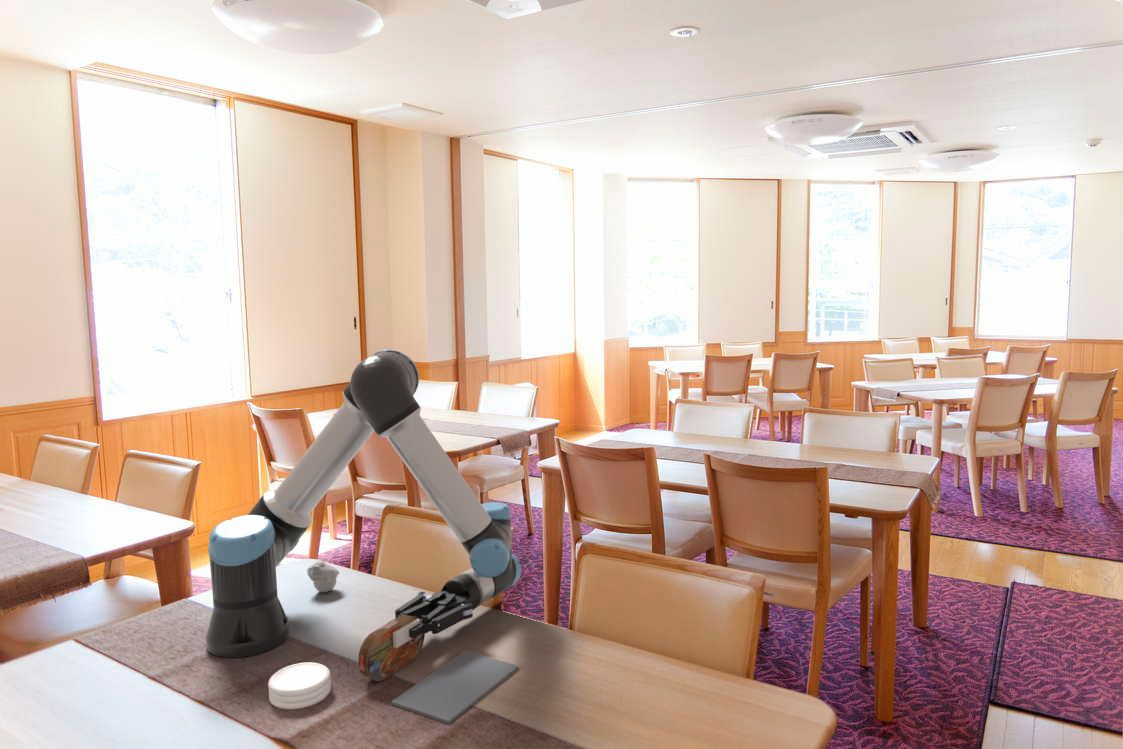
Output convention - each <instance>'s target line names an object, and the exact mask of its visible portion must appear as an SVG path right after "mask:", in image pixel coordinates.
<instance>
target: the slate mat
mask: <svg viewBox="0 0 1123 749" xmlns="http://www.w3.org/2000/svg"><path fill="white" fill-rule="evenodd" d="M517 670H519V665H518V664H513V663H511V662H507V661H504V660H500V659H497V658H493V657H490V656H486V655H483V654H479V653H476V652H471V651H468V650H464V651H462V652H461V653H459V654H458V655H456V656H455V657H453V658H452V659H451V660H449V661H448V662H446V663H445V664H443V665H442V666H440V667H439V668H437V669H436V670H435V671H433V672H432V673H430V674H428V676H426V677H425V678H423V679H421V680H420V681H419V682H417V683H416V684H414V685H413V686H411V687H410V688H408V689H406V690H405V691H404V692H402V693H401V694H400V695H399V696H397V697H395V698H394V699H393V700H391V705H392V706H396V707H398V708H401V709H404V710H408V711H410V712H412V713H416V714H419V715H422V716H424V717H427V718H431V719H433V720H436V721H439V722H441V723H445V724H448V725H450V724H451V723H452V722H453V721H454V720H456V719H457V718H458V717H460V716H461V715H462V714H463V713H465V712H466V711H467V710H468V709H470V708H471V707H472V706H473V705H475V704H476V703H477V702H478V701H479V700H481V699H483V697H485V696H486V695H487V694H488V693H490V692H491V691H493V689H495V688H496V687H497V686H498V685H500V684H501V683H502V682H503V681H505V680H506V679H507V678H509V677H510V676H511V675H512V674H513V673H515V672H516V671H517Z"/></svg>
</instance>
